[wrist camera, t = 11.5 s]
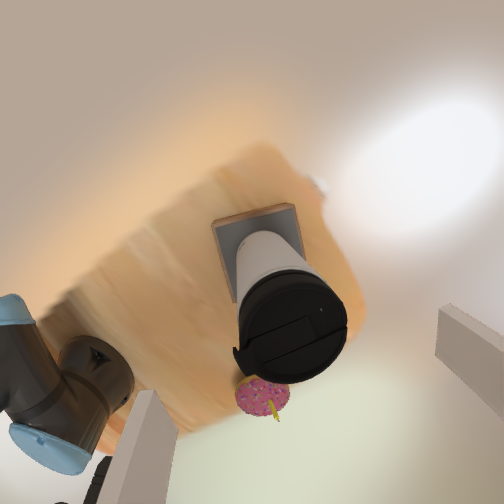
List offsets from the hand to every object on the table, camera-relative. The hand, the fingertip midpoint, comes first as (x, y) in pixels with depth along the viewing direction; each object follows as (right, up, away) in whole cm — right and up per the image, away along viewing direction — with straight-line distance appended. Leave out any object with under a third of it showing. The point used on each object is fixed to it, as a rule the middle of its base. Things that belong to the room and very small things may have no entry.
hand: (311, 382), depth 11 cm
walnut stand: (-1, +6, +28) cm, 29 cm away
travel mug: (-1, +5, +23) cm, 23 cm away
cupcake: (-1, -16, +33) cm, 37 cm away
